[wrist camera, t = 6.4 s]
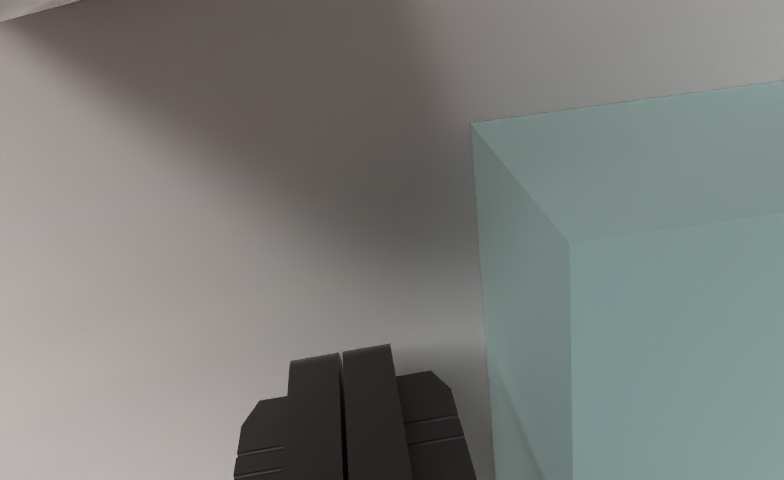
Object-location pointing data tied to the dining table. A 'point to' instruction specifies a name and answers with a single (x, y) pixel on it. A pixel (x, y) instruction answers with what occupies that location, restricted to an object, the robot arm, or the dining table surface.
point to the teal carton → (636, 287)
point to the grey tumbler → (27, 7)
